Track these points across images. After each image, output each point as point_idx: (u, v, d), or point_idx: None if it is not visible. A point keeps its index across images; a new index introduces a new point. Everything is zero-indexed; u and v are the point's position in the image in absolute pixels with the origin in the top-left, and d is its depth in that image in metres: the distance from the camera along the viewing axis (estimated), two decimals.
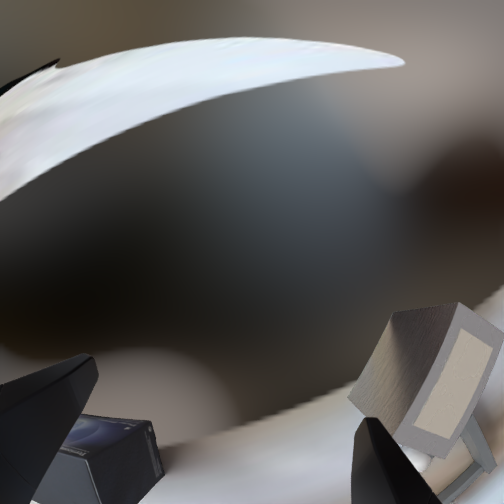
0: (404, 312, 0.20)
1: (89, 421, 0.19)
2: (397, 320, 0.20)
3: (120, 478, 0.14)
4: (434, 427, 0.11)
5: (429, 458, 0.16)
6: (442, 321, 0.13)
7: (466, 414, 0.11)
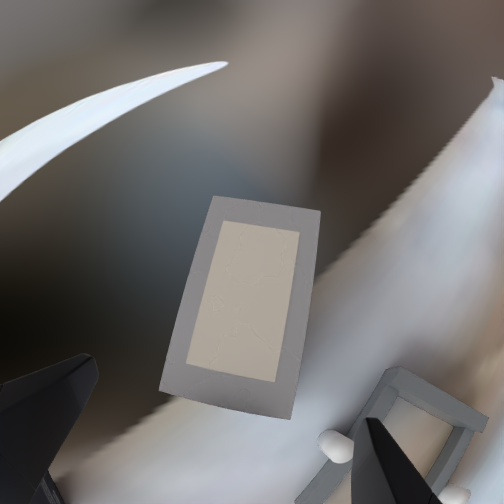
0: None
1: None
2: None
3: None
4: (232, 364, 0.09)
5: (349, 441, 0.13)
6: None
7: (294, 337, 0.10)
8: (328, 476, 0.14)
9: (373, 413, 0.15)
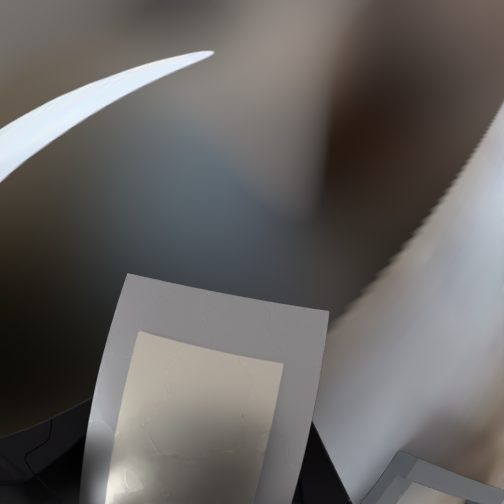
0: None
1: None
2: None
3: None
4: None
5: None
6: None
7: None
8: None
9: None
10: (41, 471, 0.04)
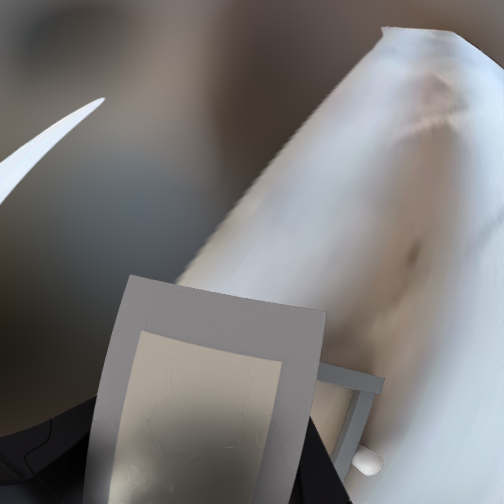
0: None
1: None
2: None
3: None
4: None
5: None
6: None
7: None
8: None
9: None
10: (40, 472, 0.04)
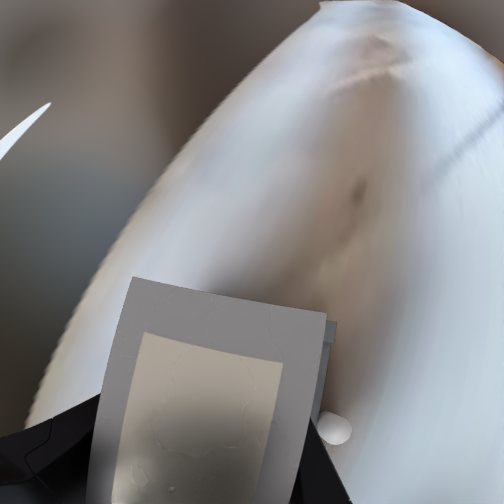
0: None
1: None
2: None
3: None
4: None
5: None
6: None
7: None
8: None
9: None
10: (40, 472, 0.04)
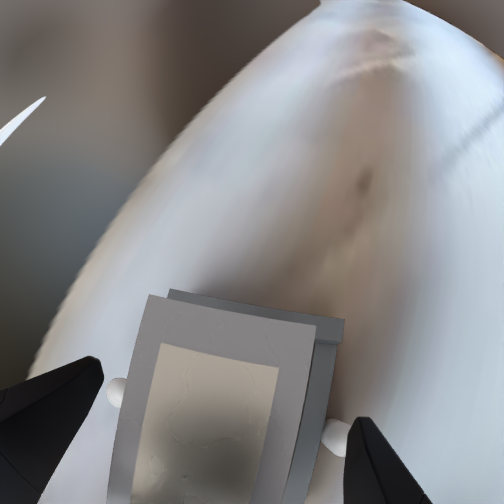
0: None
1: None
2: None
3: None
4: None
5: (123, 381, 0.13)
6: None
7: None
8: None
9: None
10: None
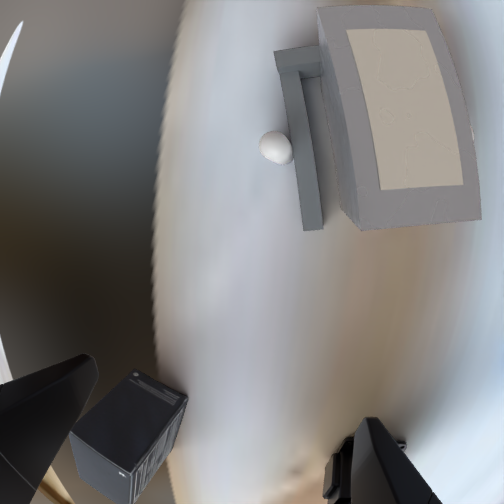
0: (321, 79, 0.14)
1: None
2: (323, 93, 0.15)
3: (114, 427, 0.18)
4: (423, 176, 0.08)
5: (272, 133, 0.15)
6: (323, 43, 0.09)
7: (464, 136, 0.07)
8: (301, 180, 0.17)
9: (289, 102, 0.16)
10: None
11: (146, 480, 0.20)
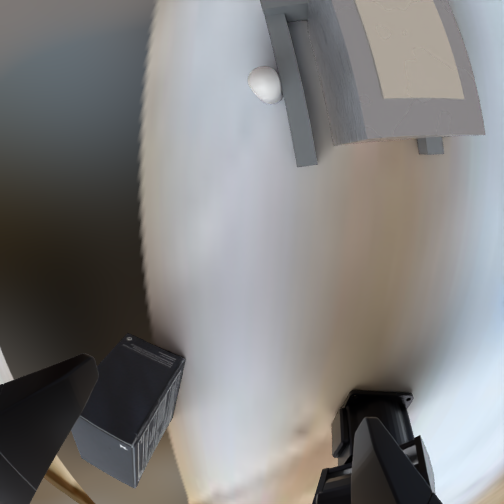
0: (308, 19, 0.12)
1: None
2: (311, 32, 0.13)
3: (111, 396, 0.18)
4: (424, 88, 0.07)
5: (261, 68, 0.13)
6: None
7: (460, 55, 0.06)
8: (292, 116, 0.16)
9: (276, 42, 0.14)
10: None
11: (149, 452, 0.21)
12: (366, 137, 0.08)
